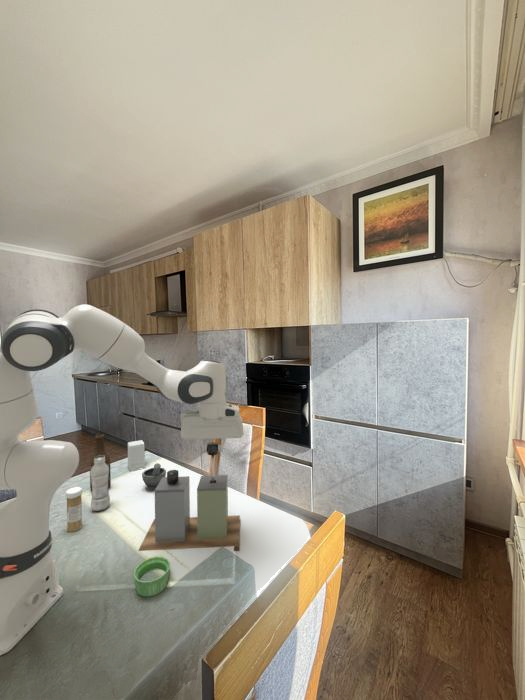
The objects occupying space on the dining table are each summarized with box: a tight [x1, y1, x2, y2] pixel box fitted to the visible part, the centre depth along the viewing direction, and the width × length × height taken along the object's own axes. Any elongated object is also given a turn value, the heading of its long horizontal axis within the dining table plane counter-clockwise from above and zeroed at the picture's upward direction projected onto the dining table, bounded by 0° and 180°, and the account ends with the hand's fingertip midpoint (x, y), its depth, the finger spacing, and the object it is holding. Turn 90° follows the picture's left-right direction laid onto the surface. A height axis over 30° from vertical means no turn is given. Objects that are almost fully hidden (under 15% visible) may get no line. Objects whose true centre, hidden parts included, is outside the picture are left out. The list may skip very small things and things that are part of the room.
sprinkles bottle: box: [65, 486, 83, 533], centre depth 101 cm, size 5×5×13 cm
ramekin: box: [133, 555, 171, 598], centre depth 78 cm, size 9×9×4 cm
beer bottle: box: [89, 433, 112, 493], centre depth 128 cm, size 8×8×24 cm
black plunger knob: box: [206, 441, 219, 483], centre depth 97 cm, size 7×7×19 cm
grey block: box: [154, 476, 191, 542], centre depth 97 cm, size 9×9×16 cm
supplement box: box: [127, 439, 146, 472], centre depth 152 cm, size 7×7×13 cm
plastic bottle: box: [89, 455, 111, 512], centre depth 114 cm, size 6×7×20 cm
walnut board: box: [138, 515, 241, 552], centre depth 97 cm, size 16×30×2 cm, turn 94°
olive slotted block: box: [196, 474, 229, 540], centre depth 97 cm, size 9×9×16 cm
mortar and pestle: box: [141, 462, 167, 492], centre depth 130 cm, size 11×9×12 cm
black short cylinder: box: [166, 469, 180, 485], centre depth 97 cm, size 7×7×19 cm
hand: (212, 451), depth 97 cm, fingers closed on black plunger knob, 4 cm apart
